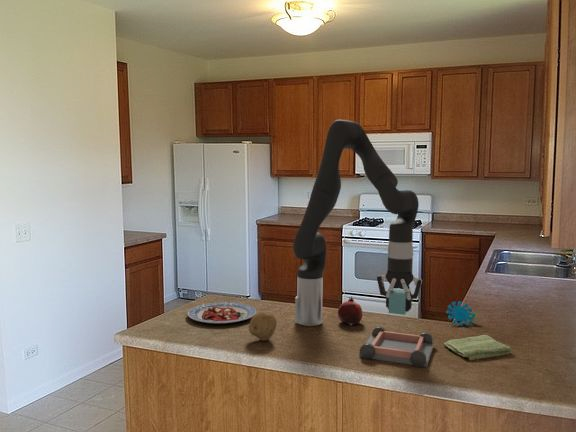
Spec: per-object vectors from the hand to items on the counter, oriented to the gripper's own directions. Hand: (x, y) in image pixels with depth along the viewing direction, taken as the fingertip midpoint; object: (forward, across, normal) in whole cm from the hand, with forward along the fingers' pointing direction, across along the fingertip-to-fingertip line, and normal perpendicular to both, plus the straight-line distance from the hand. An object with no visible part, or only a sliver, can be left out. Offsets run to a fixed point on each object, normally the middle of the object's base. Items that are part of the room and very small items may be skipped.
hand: (398, 309), depth 161 cm
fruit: (+14, -21, +22) cm, 33 cm away
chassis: (+14, 0, 0) cm, 14 cm away
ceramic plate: (+14, -68, +11) cm, 70 cm away
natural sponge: (+14, -43, -7) cm, 46 cm away
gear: (+14, +17, +38) cm, 44 cm away
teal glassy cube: (0, 0, 0) cm, 0 cm away
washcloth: (+14, +23, +11) cm, 29 cm away
